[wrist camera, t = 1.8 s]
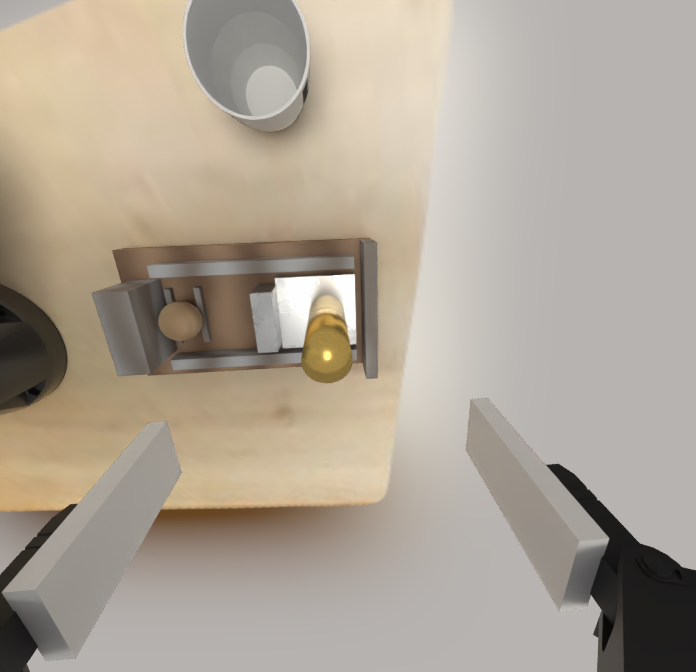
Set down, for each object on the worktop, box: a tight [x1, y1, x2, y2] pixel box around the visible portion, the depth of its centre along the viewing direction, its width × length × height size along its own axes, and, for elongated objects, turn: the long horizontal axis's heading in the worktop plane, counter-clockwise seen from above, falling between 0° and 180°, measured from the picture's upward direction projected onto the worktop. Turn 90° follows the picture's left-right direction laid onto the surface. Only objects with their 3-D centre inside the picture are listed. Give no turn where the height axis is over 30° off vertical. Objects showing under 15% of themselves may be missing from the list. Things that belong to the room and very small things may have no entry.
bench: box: [92, 238, 378, 379], centre depth 34 cm, size 26×14×8 cm, turn 92°
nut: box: [158, 301, 202, 341], centre depth 33 cm, size 4×4×4 cm
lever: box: [250, 272, 356, 383], centre depth 29 cm, size 10×8×14 cm
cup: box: [183, 0, 310, 132], centre depth 26 cm, size 8×8×10 cm
